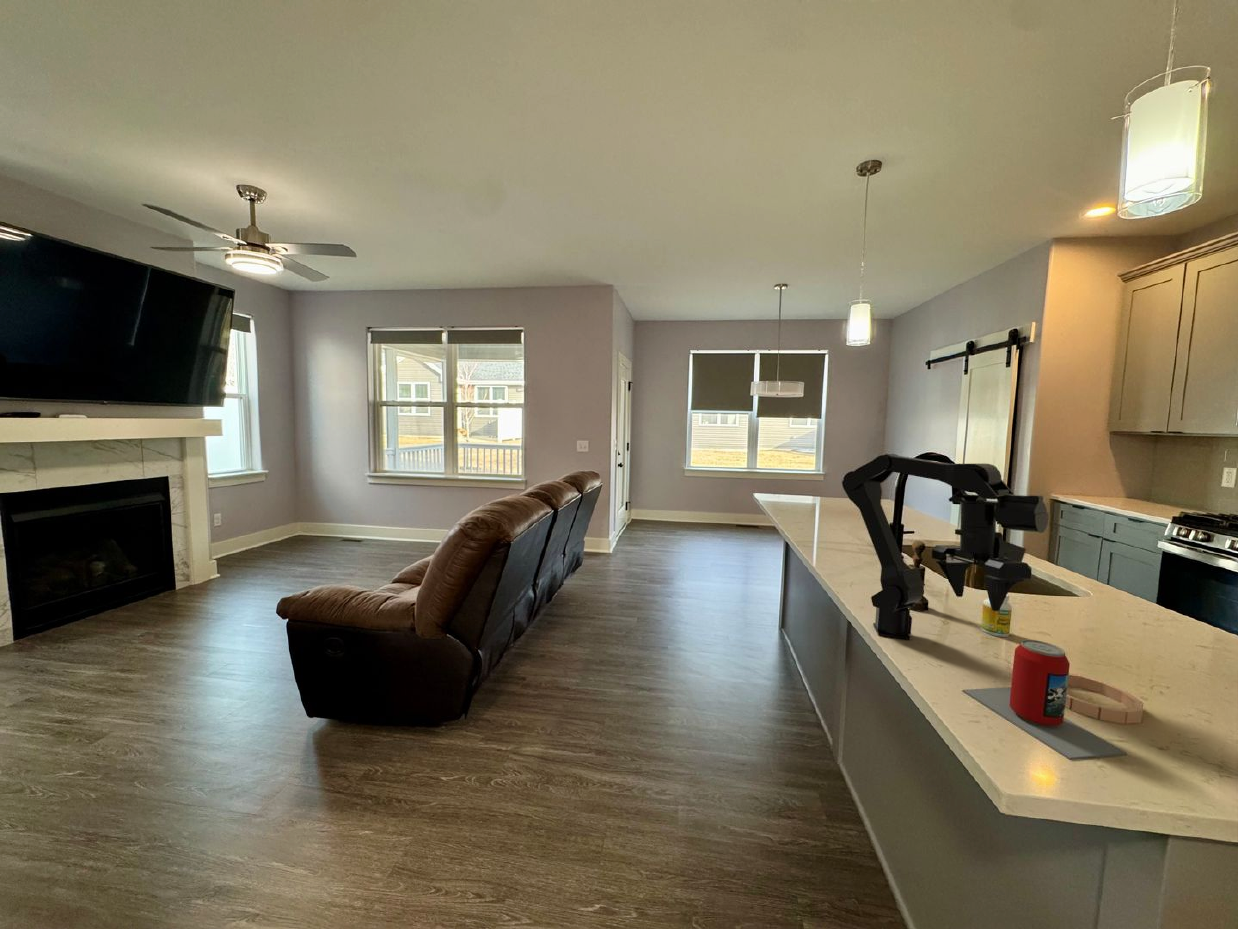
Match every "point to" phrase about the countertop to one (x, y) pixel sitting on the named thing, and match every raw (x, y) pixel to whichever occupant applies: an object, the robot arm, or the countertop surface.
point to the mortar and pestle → (917, 559)
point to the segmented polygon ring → (1104, 712)
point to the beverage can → (1039, 682)
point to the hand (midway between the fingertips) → (976, 603)
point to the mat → (1048, 728)
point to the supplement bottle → (996, 618)
